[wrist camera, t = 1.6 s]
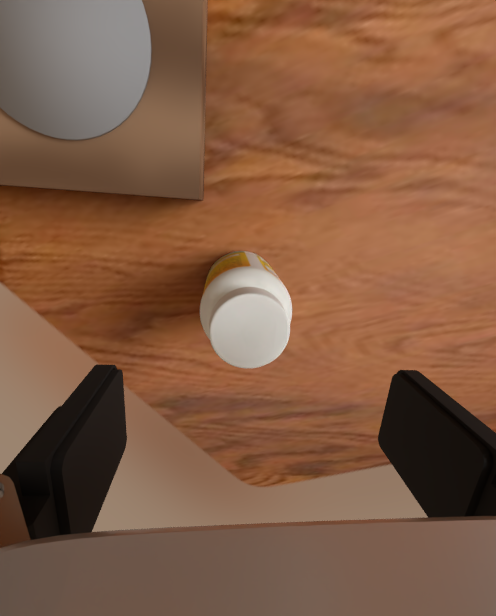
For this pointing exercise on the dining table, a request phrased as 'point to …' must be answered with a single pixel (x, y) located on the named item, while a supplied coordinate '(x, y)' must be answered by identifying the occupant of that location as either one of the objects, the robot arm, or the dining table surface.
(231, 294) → the supplement bottle
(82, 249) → the dining table surface
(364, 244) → the dining table surface
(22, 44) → the walnut plinth
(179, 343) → the dining table surface
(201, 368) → the dining table surface
